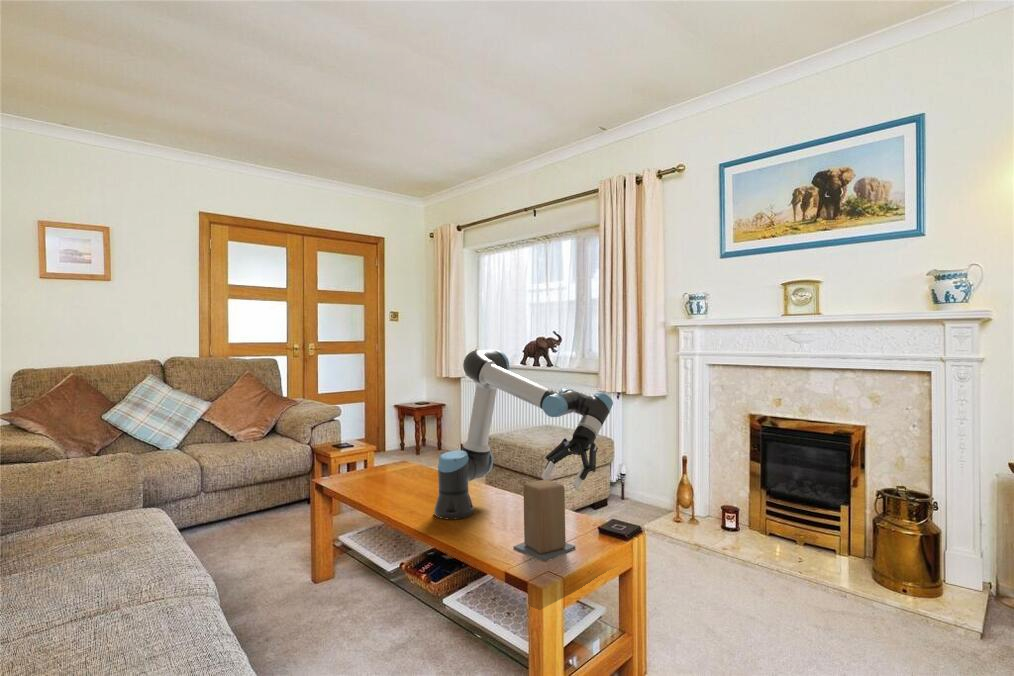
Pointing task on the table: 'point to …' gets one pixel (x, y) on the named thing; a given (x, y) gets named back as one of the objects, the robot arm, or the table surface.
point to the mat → (545, 556)
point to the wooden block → (544, 516)
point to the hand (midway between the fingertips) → (558, 483)
